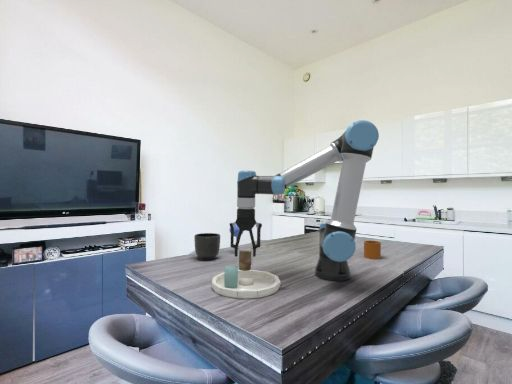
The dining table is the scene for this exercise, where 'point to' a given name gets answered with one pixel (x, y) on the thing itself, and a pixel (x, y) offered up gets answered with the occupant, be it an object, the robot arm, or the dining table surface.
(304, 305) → the dining table surface
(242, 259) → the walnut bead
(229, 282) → the teal cylinder
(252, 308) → the dining table surface
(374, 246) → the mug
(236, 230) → the baby rattle
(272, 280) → the round cream tray
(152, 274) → the dining table surface
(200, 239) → the planter
